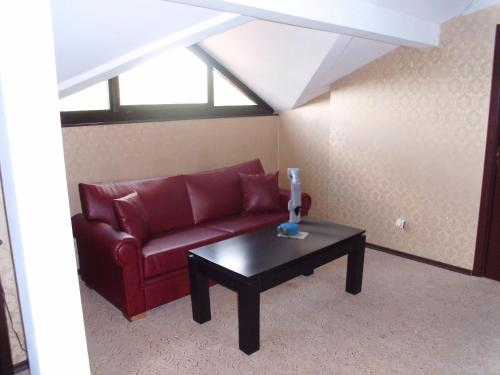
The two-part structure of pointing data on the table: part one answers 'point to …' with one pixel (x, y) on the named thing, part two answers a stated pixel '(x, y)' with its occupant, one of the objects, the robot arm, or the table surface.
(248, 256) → the table surface
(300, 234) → the mat
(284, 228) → the alarm clock
